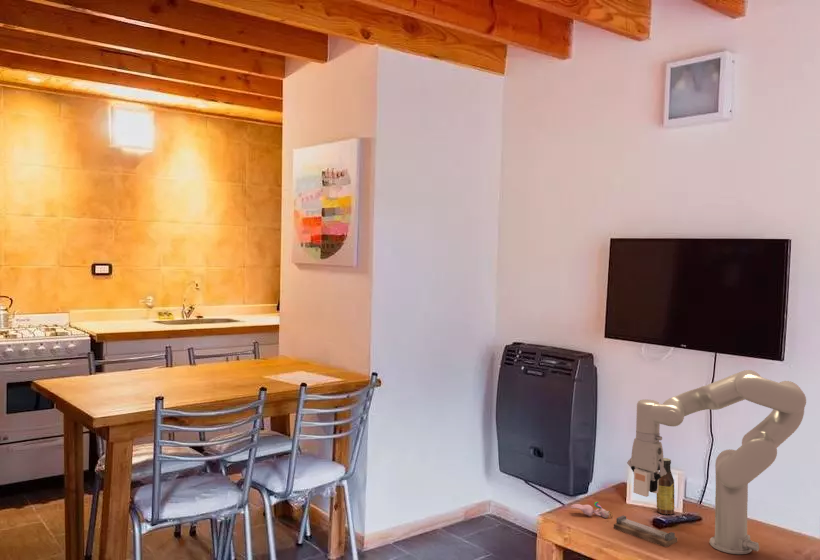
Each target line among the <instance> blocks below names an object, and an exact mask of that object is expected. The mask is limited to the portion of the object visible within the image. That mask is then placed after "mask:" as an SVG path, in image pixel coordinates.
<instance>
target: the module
mask: <svg viewBox="0 0 820 560" xmlns="http://www.w3.org/2000/svg"><path fill="white" fill-rule="evenodd" d="M659 472H660V470H658V474H659ZM651 480H652V479H651V472H650V471H646V470H643V469H640V468H639V469H638V468H637V469H634V472H633V490H632V492H633V493H634V494H635V495H640V496H643V497H645V498H647V497H649V496H650V495H649V494H650V481H651ZM658 485H659V480H658V483H657V491H655V492H652V493H653V494H657V493H658Z"/></svg>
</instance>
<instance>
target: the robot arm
mask: <svg viewBox="0 0 820 560" xmlns="http://www.w3.org/2000/svg"><path fill="white" fill-rule="evenodd" d="M745 400H746V401H748V402H751V403H754V404H755V405H756V404H757V405H759V406H762V407H765V408H769V409H771V412H770V413H769V414H768V415H767V416H766V417H765V418H763V420H762V421H760V422H759V423H758V424H757V425H755V426H754V427H753V428H752V429H750V430H749V431H748V432H746V434H744V435H743V437H742V439H741V445H740V447H738V448H737V449H724V450H722V451H721V452H720V453H718V455H717V456H716V459H715V465H714V467H715V497H714V498H715V499H714V500H715V501H714V502H715V506H714V508H715V509H714V513H715V514H714V520H715V521H714V536H712V537H710V538H709V544H710V546H711V547H712V548H714V549H715V550H718V551H720V552H722V553H723V552H724V553H727V554H730V555H731V554H732V555H747V554H750V553H751V552H752V551H755V552H759V551H760V545H759V542H756V541H753V540H752V539H751V535H749V534H748V501H749V500H748V497H749V494H748V493H749V492H748V488H749V484H750V483H751V482H752V481H753V480H754V479H756V478H758V477H759V476H760V475H761V474H763V472H765V471H766V470H767V469H768V468H769V467H770V466H771V465H772V464H774V462H775V461H776V459H777V456H778V449H777V448H778V447H780V446H781V445H782V444H783V443H784V442H785V441H786V440H787V439H788V438H789V437H791V436H792V435H793V434H794V433H795V432H796V431H797V429H798V428H799V427H800V425H801V423H802V422H803V419H804V415H805V407H806V405H807V396H806V394H805V393H804V392H803V390H802V389H801V387H799V385H798V384H796V383H795V382H794V381H789V380H783V381H780V382H777V381H775V380H771V379H768V378H766V377H763V376H761V375H760V374H759V373H758V372H757V371H754V370H751V369H746V370H741V371H738V372H736V373H734V374H732V375H729V376H727V377H724V378H721V379H719V380H717V381H713V382H712V383H709V384H706V385H702V386H700V387H697V388H694V389H691V390H688V391H684V392H682V393H680V394H677V395H675V396H672V397H670V398H668V399H666V400H665V401H663V402H662V403H659V402H658V401H657V400H654V399H640V400H638V401H637V403H636V422H635V423H636V425H635V426H636V427H635V428H636V429H635V438H634V440H633V442H632V443H633V444H632V449H631V457H630V458H629V459H628V461H627V462H626V463H627V465H628V467H630V469H631V471H632V472H633V473H634V469H637V468H638V469H639V468H640V469H643V470H646V471H650V472H651V479H652V480H651V481H650V491H649V493H653V492H655V491H657V483H658V480H659V479H660V478H661V477H662V476H664V475H666V474H667V472H666V470H665V469H664V458H665V457H664V449H663V444H662V442H661V441H662V440H663V437H662V436H661V433H660V428H661V427H660V425H664V426H667V427H678V426H680V425H681V424H682V423H683V422H684V419H685V417H687V416H689V415H692V414H694V413H697V412H701V411H705V410H711V411H715V410H716V411H717V410H721V409H724V408H726V407H729V406H731V405H734V404H736V403H739V402H742V401H745ZM658 470H659V472H660V473H659V474H658Z"/></svg>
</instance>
